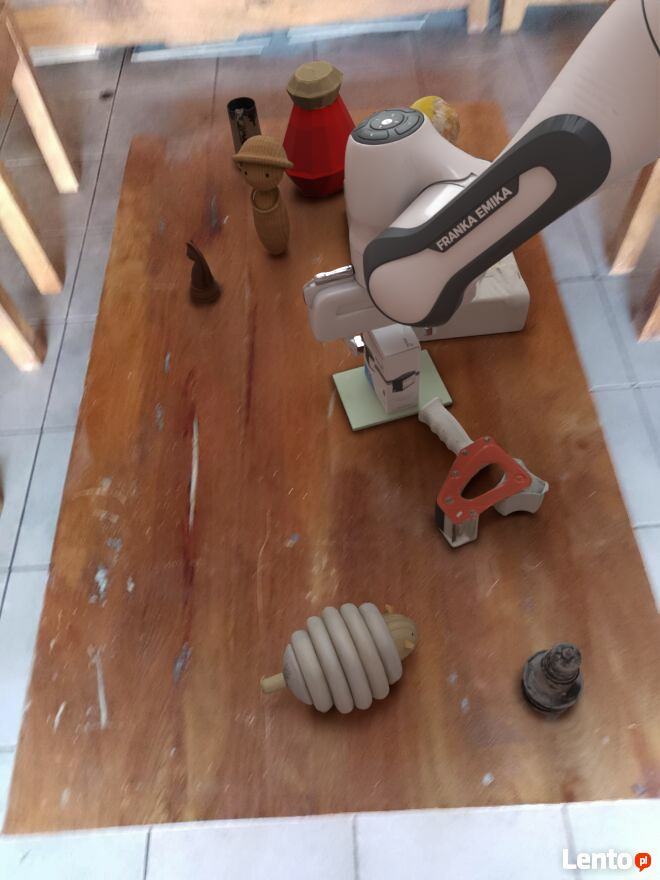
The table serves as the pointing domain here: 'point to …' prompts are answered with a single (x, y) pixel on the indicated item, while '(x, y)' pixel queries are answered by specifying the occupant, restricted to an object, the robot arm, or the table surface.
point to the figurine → (266, 189)
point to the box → (486, 303)
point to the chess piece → (201, 277)
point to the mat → (366, 403)
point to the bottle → (317, 130)
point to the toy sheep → (345, 657)
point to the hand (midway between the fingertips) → (392, 341)
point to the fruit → (440, 116)
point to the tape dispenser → (450, 507)
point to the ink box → (393, 365)
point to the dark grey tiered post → (553, 679)
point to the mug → (243, 121)
